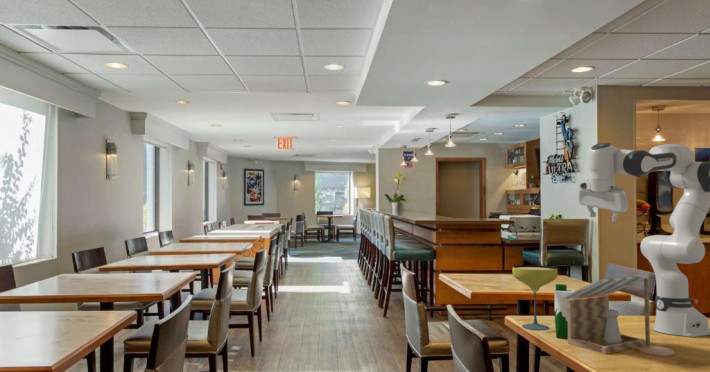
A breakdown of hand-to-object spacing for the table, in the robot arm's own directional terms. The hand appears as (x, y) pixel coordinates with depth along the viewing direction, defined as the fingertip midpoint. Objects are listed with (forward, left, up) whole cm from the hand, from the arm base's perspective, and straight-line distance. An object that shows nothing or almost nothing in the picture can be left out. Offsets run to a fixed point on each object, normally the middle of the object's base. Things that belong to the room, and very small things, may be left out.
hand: (602, 218), depth 201 cm
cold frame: (+9, +12, -46) cm, 48 cm away
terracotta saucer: (-2, +24, -46) cm, 52 cm away
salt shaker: (+8, +15, -46) cm, 49 cm away
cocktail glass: (+19, -18, -46) cm, 53 cm away
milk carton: (+16, 0, -46) cm, 49 cm away
